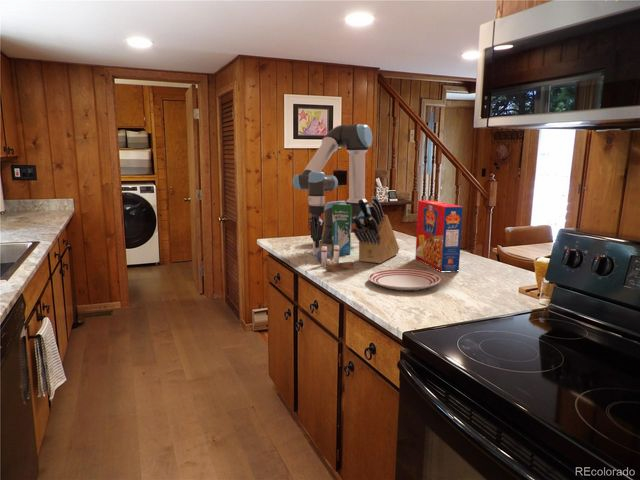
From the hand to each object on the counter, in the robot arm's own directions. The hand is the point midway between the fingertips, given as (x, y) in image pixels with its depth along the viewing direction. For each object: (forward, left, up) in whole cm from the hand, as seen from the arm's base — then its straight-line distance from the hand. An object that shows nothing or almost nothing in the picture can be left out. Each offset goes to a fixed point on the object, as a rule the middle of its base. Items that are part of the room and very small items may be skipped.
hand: (316, 254), depth 224 cm
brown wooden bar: (0, +26, -2) cm, 26 cm away
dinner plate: (-13, +55, -2) cm, 57 cm away
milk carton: (-17, -7, -2) cm, 19 cm away
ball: (0, +9, +1) cm, 9 cm away
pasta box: (-45, +33, -2) cm, 56 cm away
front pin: (0, +13, -1) cm, 14 cm away
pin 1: (+3, +16, -2) cm, 16 cm away
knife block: (-25, +14, -2) cm, 29 cm away
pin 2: (-3, +16, -2) cm, 16 cm away
